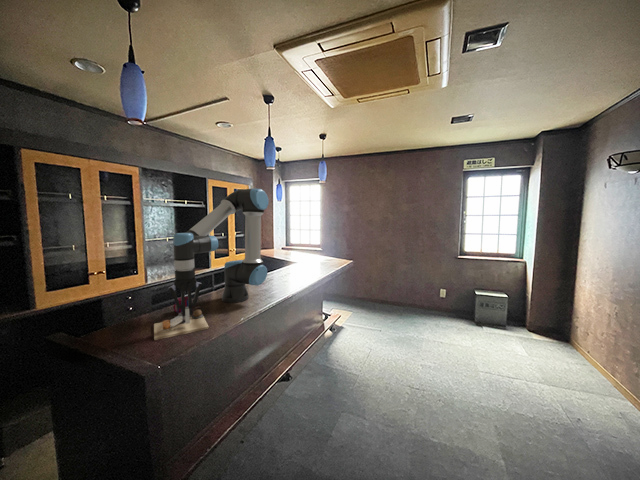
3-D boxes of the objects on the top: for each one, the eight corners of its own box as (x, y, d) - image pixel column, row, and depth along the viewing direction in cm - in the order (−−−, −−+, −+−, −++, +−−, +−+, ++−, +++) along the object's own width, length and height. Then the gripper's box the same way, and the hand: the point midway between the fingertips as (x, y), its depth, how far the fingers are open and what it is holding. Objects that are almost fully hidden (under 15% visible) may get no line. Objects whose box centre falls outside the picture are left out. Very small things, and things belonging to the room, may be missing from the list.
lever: (192, 317, 120) (192, 309, 120) (167, 331, 104) (167, 322, 104) (186, 316, 120) (185, 308, 120) (160, 331, 105) (160, 322, 104)
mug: (195, 310, 133) (194, 297, 132) (178, 317, 124) (177, 303, 123) (185, 308, 136) (185, 296, 135) (168, 315, 126) (167, 301, 126)
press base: (202, 316, 125) (202, 307, 124) (208, 328, 111) (208, 318, 111) (154, 325, 114) (153, 315, 113) (154, 340, 100) (153, 329, 100)
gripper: (200, 266, 115) (202, 316, 117) (166, 269, 108) (169, 322, 110) (202, 269, 109) (205, 322, 111) (167, 272, 102) (170, 329, 104)
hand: (187, 322), depth 111 cm, fingers closed
